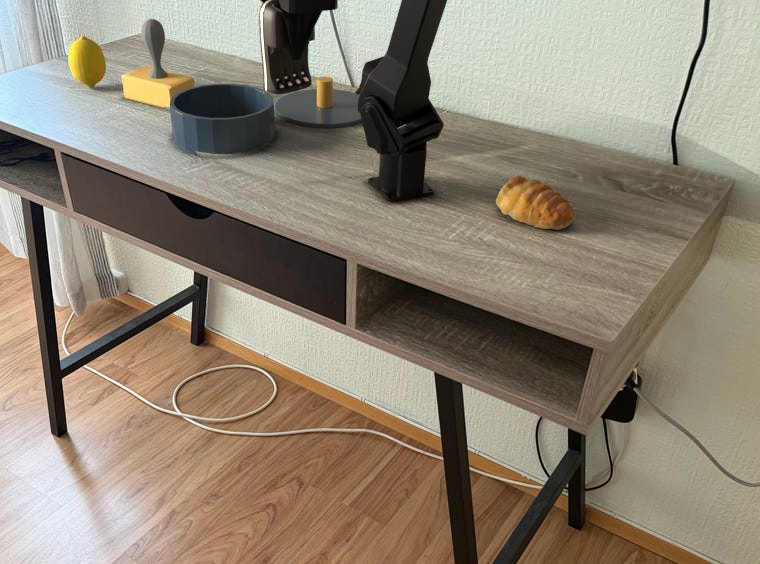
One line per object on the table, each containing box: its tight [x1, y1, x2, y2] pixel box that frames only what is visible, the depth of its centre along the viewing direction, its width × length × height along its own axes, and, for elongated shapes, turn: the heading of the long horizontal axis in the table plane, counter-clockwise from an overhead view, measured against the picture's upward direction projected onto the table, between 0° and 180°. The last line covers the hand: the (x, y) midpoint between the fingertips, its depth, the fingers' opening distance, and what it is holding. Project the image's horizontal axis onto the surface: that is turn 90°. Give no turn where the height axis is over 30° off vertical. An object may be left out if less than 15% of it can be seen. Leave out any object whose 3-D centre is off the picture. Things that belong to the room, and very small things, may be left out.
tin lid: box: [274, 76, 362, 129], centre depth 123 cm, size 15×15×5 cm
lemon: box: [67, 35, 107, 89], centre depth 129 cm, size 6×6×8 cm
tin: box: [169, 83, 276, 156], centre depth 115 cm, size 14×14×5 cm
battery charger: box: [258, 0, 316, 95], centre depth 106 cm, size 7×4×11 cm, turn 132°
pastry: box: [495, 175, 576, 231], centre depth 98 cm, size 9×7×4 cm
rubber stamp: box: [121, 18, 196, 109], centre depth 124 cm, size 10×6×12 cm, turn 60°
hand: (289, 54), depth 106 cm, fingers closed on battery charger, 4 cm apart
